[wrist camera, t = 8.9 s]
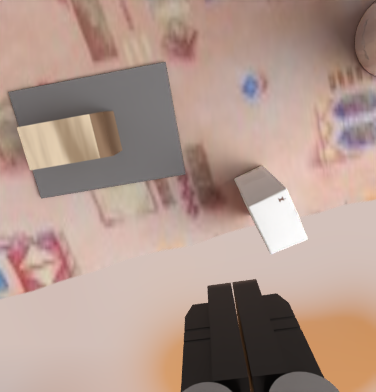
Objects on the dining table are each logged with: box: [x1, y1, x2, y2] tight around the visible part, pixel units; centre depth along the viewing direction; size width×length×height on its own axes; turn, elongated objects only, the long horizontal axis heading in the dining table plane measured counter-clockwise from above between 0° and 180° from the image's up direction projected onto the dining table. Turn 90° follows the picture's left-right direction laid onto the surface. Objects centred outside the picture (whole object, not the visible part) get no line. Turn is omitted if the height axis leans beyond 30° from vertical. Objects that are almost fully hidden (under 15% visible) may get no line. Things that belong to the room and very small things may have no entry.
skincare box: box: [234, 166, 308, 254], centre depth 37 cm, size 6×4×12 cm
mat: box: [8, 62, 185, 198], centre depth 41 cm, size 20×14×1 cm
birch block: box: [17, 111, 122, 170], centre depth 38 cm, size 5×5×10 cm
